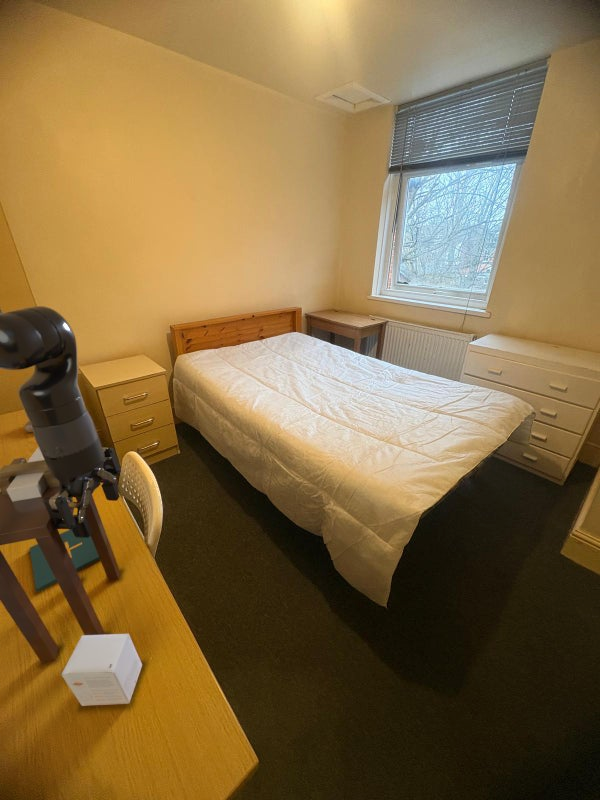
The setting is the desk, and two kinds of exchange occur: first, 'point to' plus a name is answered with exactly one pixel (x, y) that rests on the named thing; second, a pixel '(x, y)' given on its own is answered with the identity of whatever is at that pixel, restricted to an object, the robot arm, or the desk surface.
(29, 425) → the rock
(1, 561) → the stand
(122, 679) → the small box
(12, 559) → the desk surface
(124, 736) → the desk surface
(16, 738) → the desk surface
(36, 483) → the stone bar
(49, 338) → the robot arm
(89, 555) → the board
